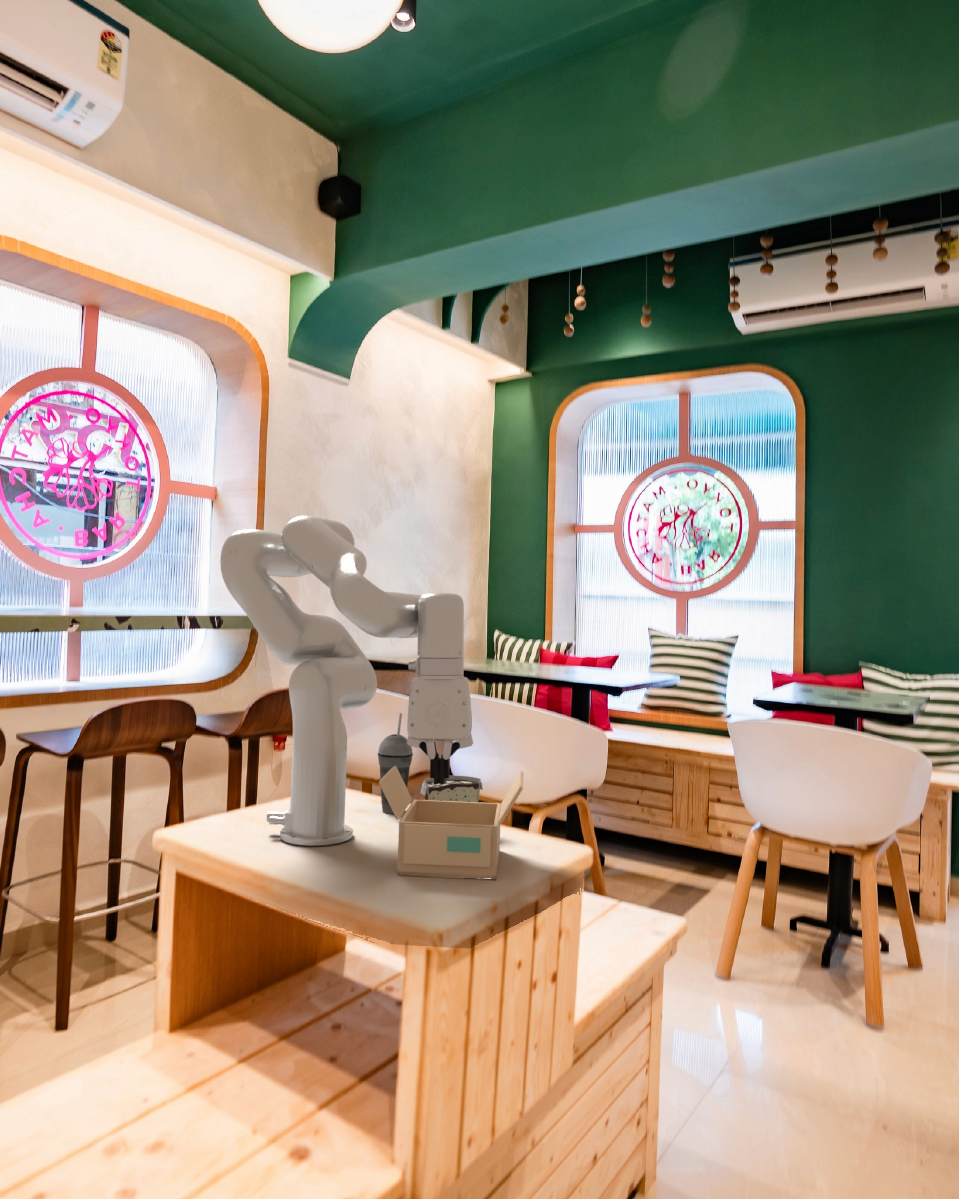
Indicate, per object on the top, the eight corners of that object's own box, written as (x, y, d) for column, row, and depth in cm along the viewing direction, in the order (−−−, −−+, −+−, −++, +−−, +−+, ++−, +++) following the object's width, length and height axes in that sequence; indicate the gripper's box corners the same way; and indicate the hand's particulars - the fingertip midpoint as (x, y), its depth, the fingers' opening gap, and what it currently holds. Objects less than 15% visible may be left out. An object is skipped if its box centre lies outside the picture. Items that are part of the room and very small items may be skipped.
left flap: (399, 818, 123) (396, 819, 123) (412, 799, 136) (409, 800, 136) (381, 780, 123) (378, 782, 123) (395, 765, 137) (393, 766, 137)
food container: (463, 825, 153) (465, 772, 153) (481, 832, 148) (483, 778, 148) (406, 833, 146) (408, 778, 147) (423, 841, 141) (425, 784, 141)
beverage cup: (393, 805, 168) (396, 710, 169) (418, 811, 163) (421, 713, 164) (367, 811, 162) (371, 712, 163) (393, 817, 158) (396, 715, 158)
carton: (396, 876, 121) (398, 823, 121) (412, 845, 138) (414, 798, 138) (495, 881, 120) (497, 827, 120) (499, 849, 137) (501, 802, 137)
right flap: (520, 786, 122) (523, 788, 122) (520, 770, 136) (523, 772, 136) (498, 822, 122) (501, 824, 122) (501, 803, 136) (503, 804, 136)
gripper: (390, 669, 127) (389, 786, 126) (484, 670, 126) (484, 788, 125) (399, 668, 134) (398, 778, 133) (487, 668, 133) (487, 779, 132)
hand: (439, 782), depth 129 cm, fingers closed
